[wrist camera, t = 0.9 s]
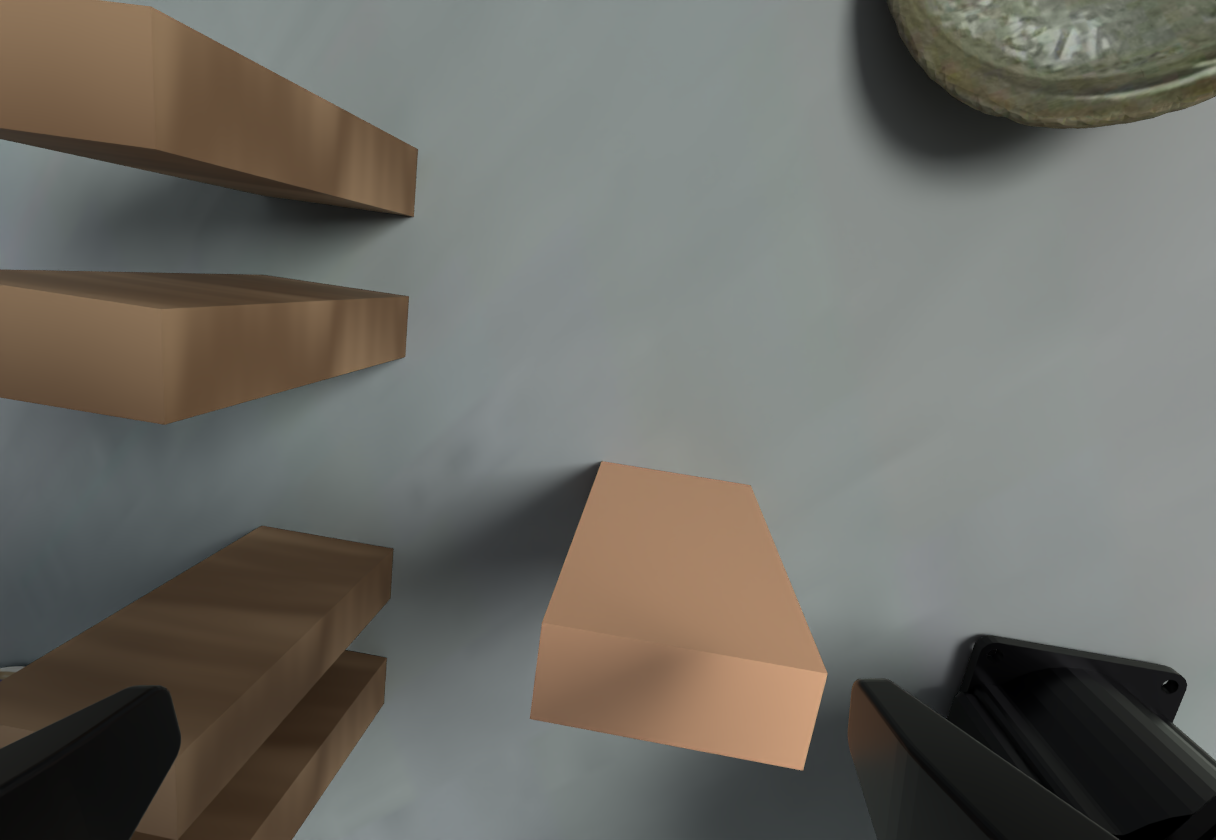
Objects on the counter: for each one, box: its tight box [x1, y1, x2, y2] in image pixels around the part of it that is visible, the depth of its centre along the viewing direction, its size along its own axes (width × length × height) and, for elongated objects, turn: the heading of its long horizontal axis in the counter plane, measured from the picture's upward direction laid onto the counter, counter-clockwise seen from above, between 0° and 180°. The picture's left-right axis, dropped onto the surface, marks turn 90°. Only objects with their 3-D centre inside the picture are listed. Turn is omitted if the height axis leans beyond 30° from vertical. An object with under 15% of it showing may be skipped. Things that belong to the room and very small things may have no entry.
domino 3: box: [0, 526, 393, 840], centre depth 17 cm, size 2×5×10 cm, turn 82°
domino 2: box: [0, 270, 409, 425], centre depth 15 cm, size 2×5×10 cm, turn 82°
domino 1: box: [0, 0, 418, 217], centre depth 14 cm, size 2×5×10 cm, turn 82°
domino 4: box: [130, 650, 387, 840], centre depth 18 cm, size 2×5×10 cm, turn 82°
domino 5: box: [530, 461, 827, 770], centre depth 16 cm, size 2×5×10 cm, turn 82°
